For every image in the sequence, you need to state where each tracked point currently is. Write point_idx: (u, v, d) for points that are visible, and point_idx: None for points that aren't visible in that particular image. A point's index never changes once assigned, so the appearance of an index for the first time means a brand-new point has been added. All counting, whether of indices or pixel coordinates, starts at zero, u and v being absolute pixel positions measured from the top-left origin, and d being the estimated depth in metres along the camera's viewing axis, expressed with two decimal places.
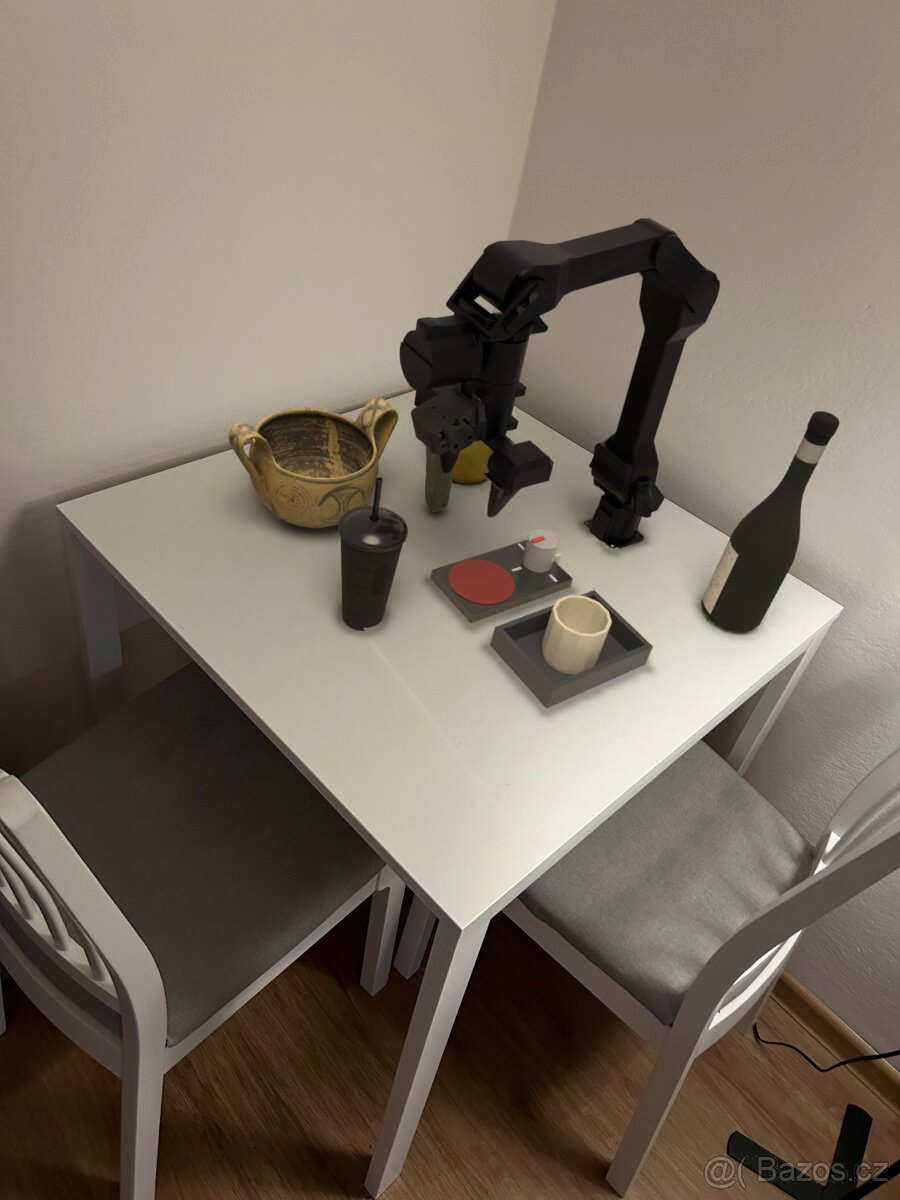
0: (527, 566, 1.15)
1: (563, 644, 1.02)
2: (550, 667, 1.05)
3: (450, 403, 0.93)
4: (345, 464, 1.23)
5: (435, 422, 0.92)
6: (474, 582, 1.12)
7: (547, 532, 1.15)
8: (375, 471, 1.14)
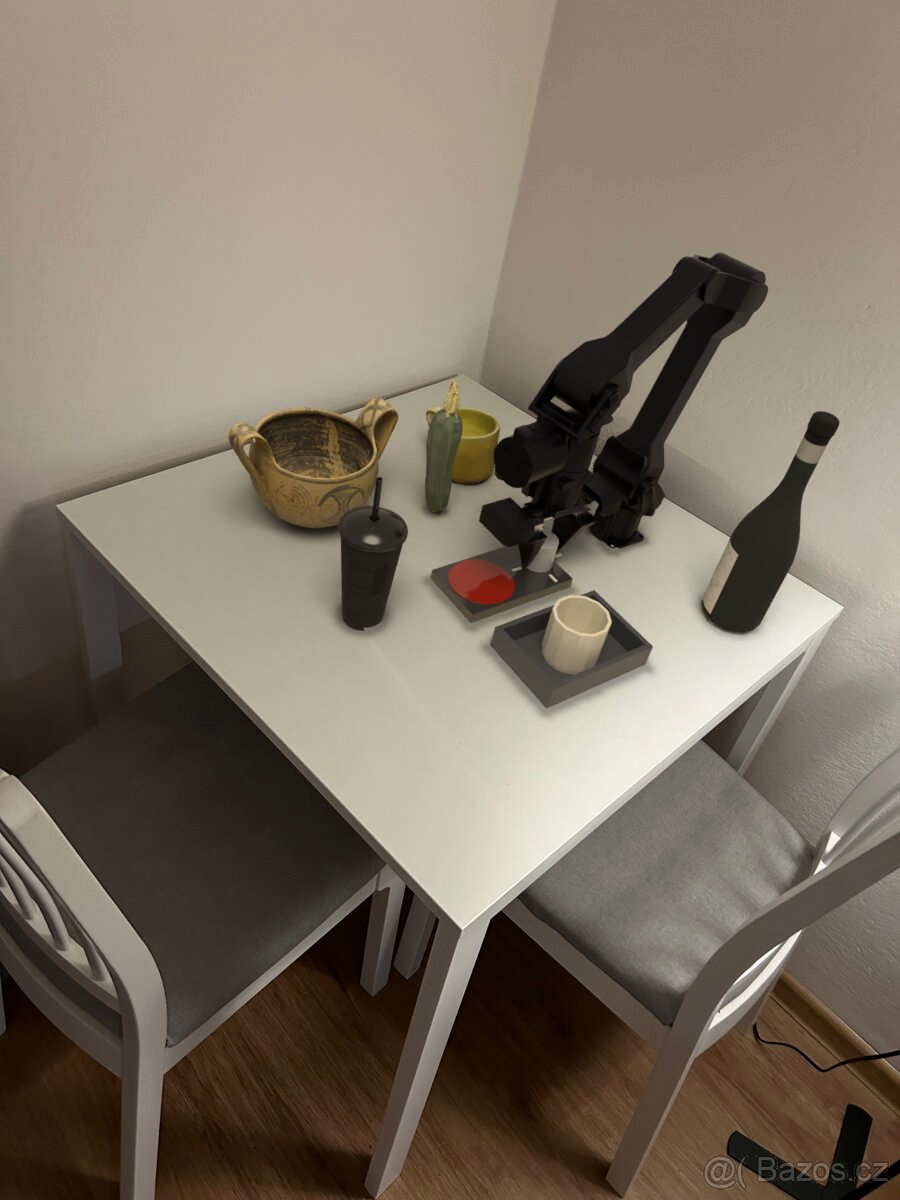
0: (527, 566, 1.15)
1: (563, 644, 1.02)
2: (550, 667, 1.05)
3: None
4: (345, 464, 1.23)
5: None
6: (474, 582, 1.12)
7: (547, 532, 1.15)
8: (375, 471, 1.14)
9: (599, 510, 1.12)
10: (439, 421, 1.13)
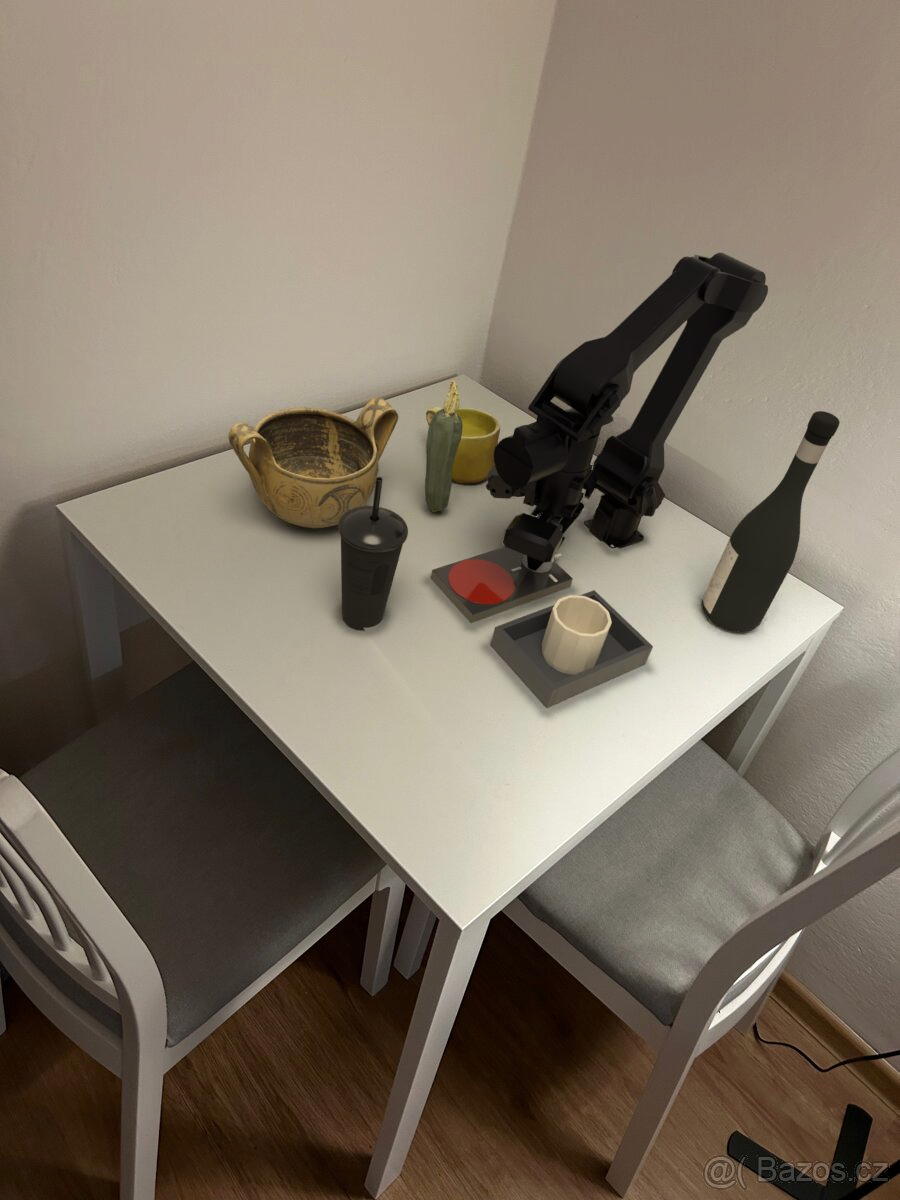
0: None
1: (563, 644, 1.02)
2: (550, 667, 1.05)
3: None
4: (345, 464, 1.23)
5: None
6: (474, 582, 1.12)
7: None
8: (375, 471, 1.14)
9: (586, 494, 1.14)
10: (439, 421, 1.13)
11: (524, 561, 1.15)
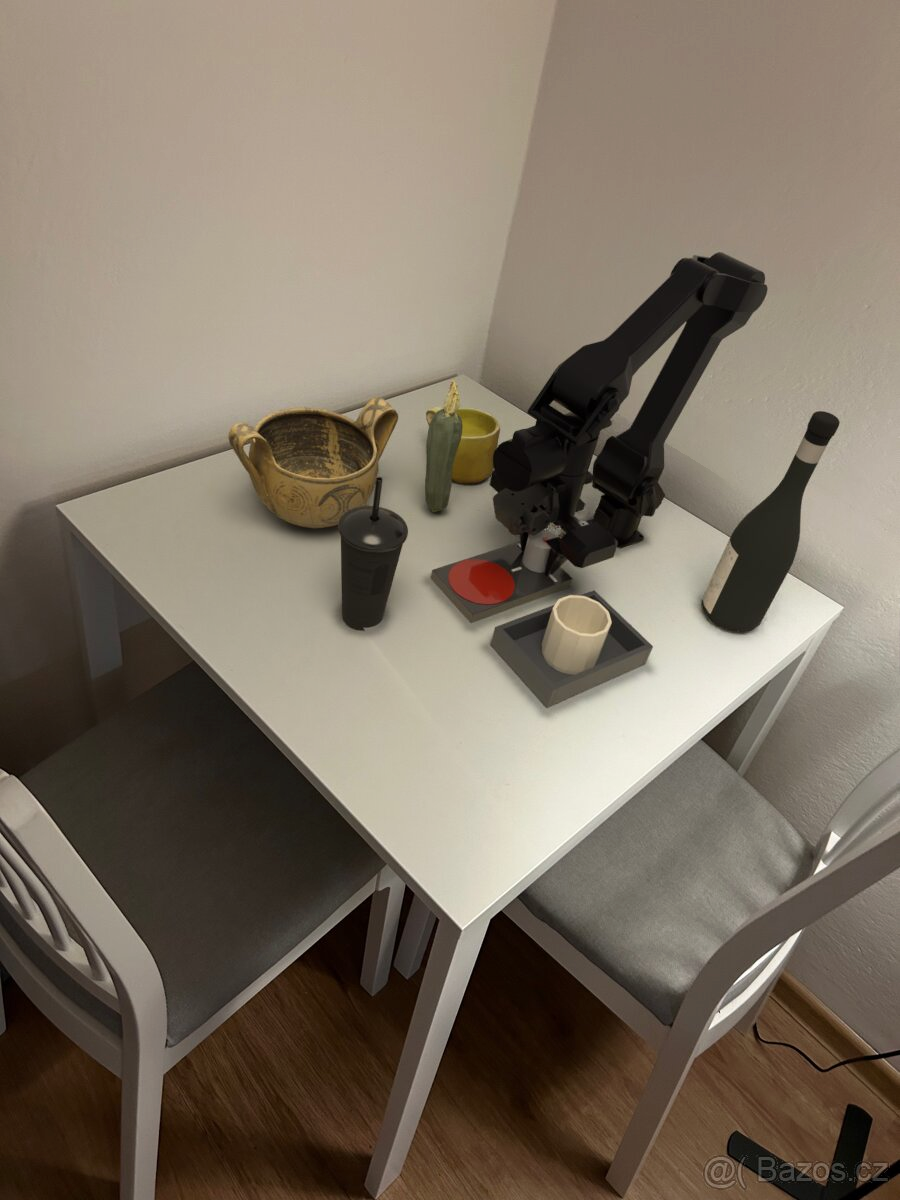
0: None
1: (563, 644, 1.02)
2: (550, 667, 1.05)
3: (527, 490, 1.06)
4: (345, 464, 1.23)
5: (515, 508, 1.05)
6: (474, 582, 1.12)
7: None
8: (375, 471, 1.14)
9: None
10: (439, 421, 1.13)
11: (536, 568, 1.15)
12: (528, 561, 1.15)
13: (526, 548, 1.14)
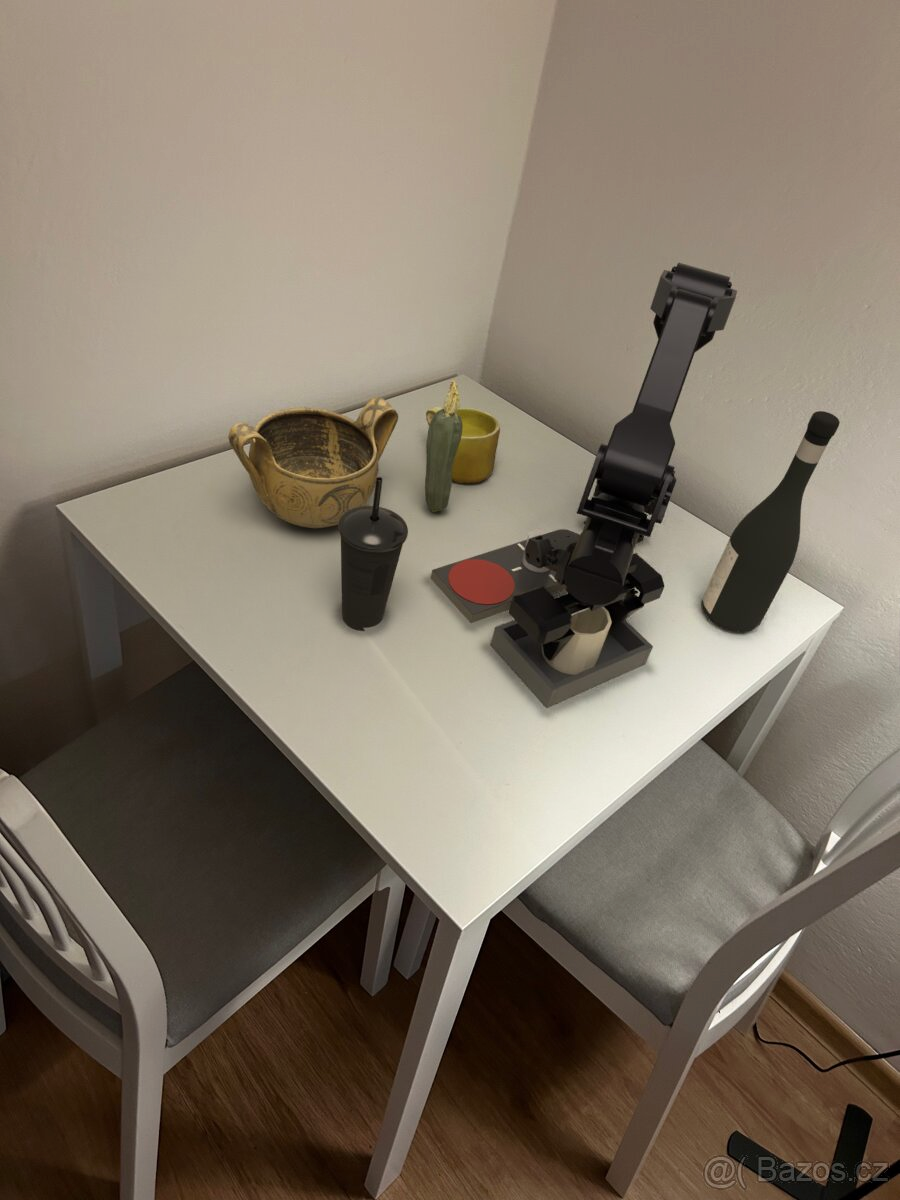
0: (549, 569, 1.15)
1: None
2: (550, 667, 1.05)
3: (573, 542, 1.01)
4: (345, 464, 1.23)
5: (548, 538, 1.02)
6: (474, 582, 1.12)
7: (533, 534, 1.14)
8: (375, 471, 1.14)
9: (639, 597, 1.02)
10: (439, 421, 1.13)
11: (536, 568, 1.15)
12: None
13: None
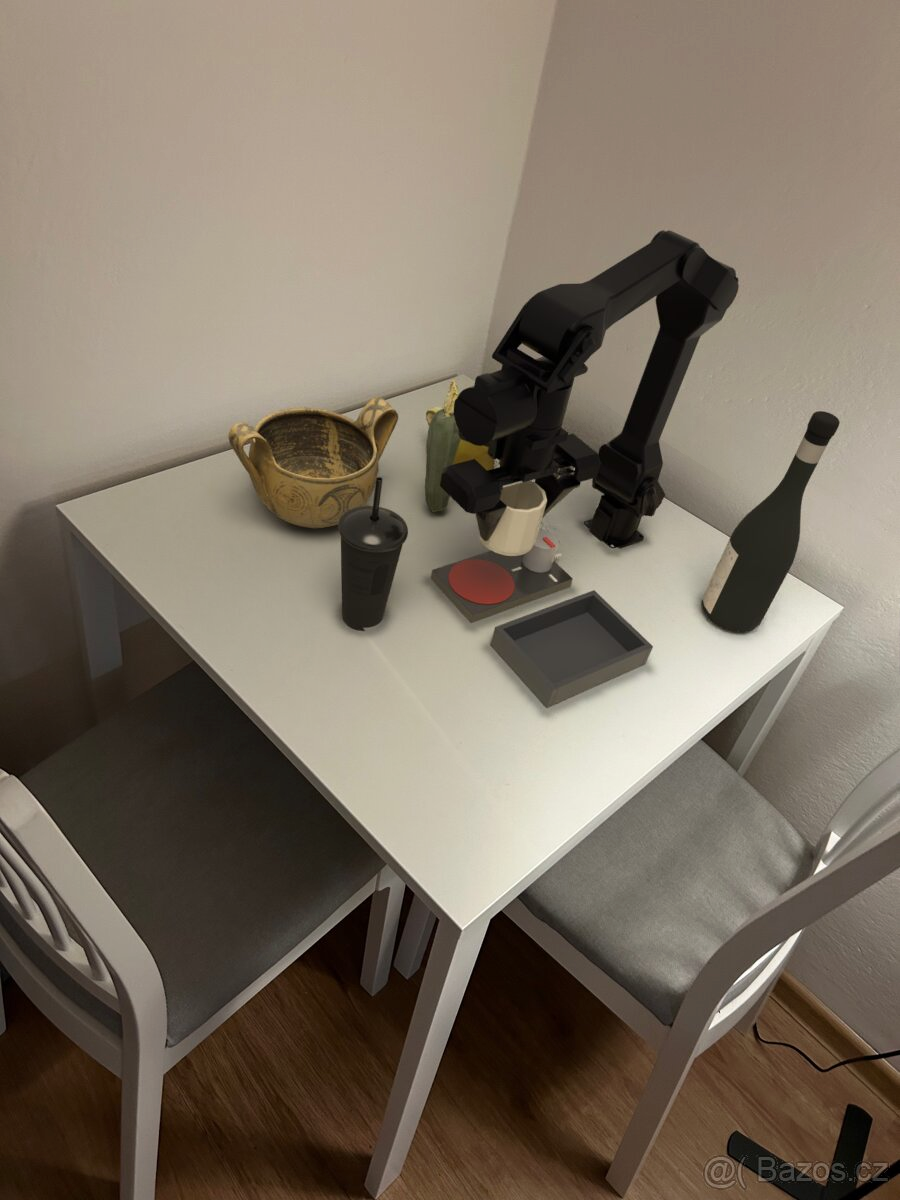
0: (549, 569, 1.15)
1: None
2: (550, 667, 1.05)
3: None
4: (345, 464, 1.23)
5: None
6: (474, 582, 1.12)
7: None
8: (375, 471, 1.14)
9: (575, 474, 1.01)
10: (439, 421, 1.13)
11: (536, 568, 1.15)
12: (528, 561, 1.15)
13: None
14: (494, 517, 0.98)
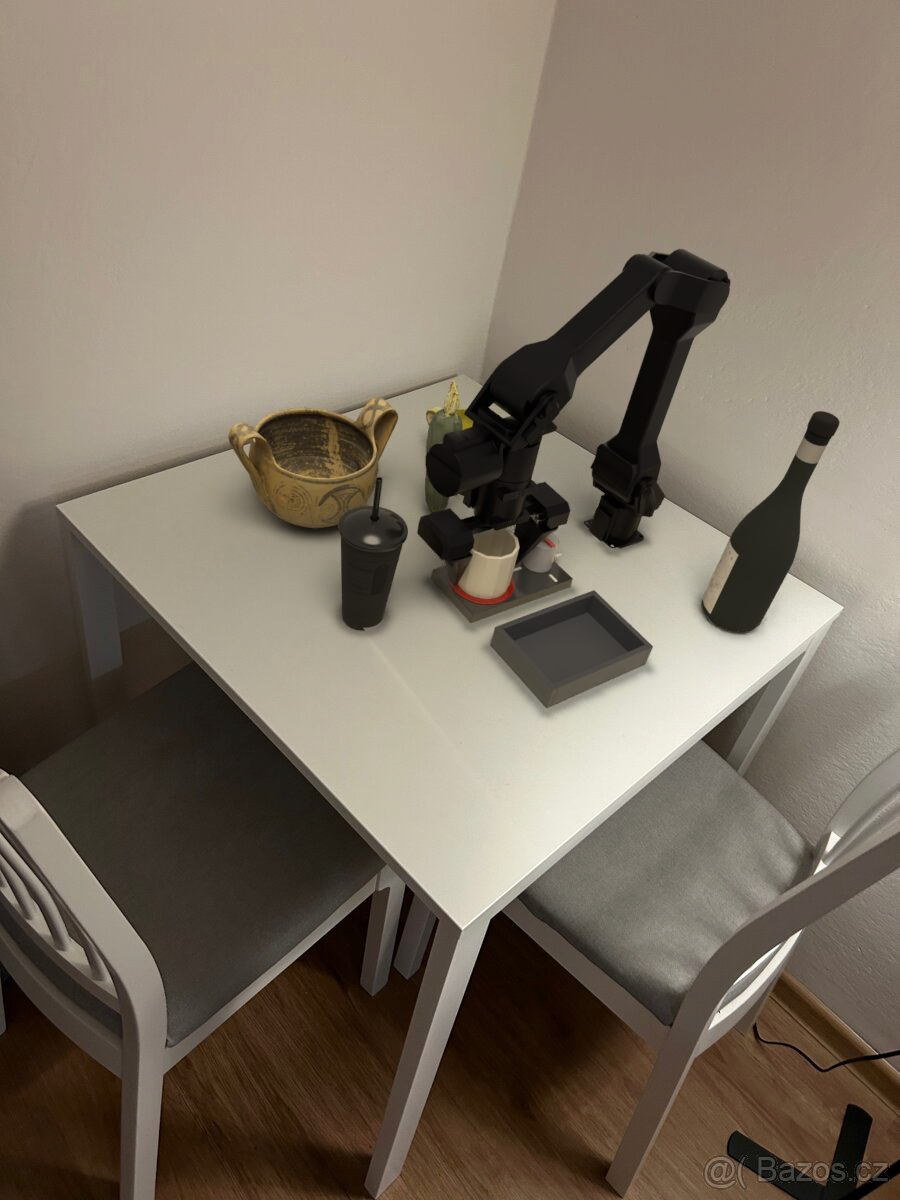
0: (549, 569, 1.15)
1: (472, 568, 1.07)
2: (550, 667, 1.05)
3: None
4: (345, 464, 1.23)
5: None
6: None
7: None
8: (375, 471, 1.14)
9: (545, 521, 1.07)
10: (439, 421, 1.13)
11: (536, 568, 1.15)
12: (528, 561, 1.15)
13: None
14: (461, 565, 1.03)
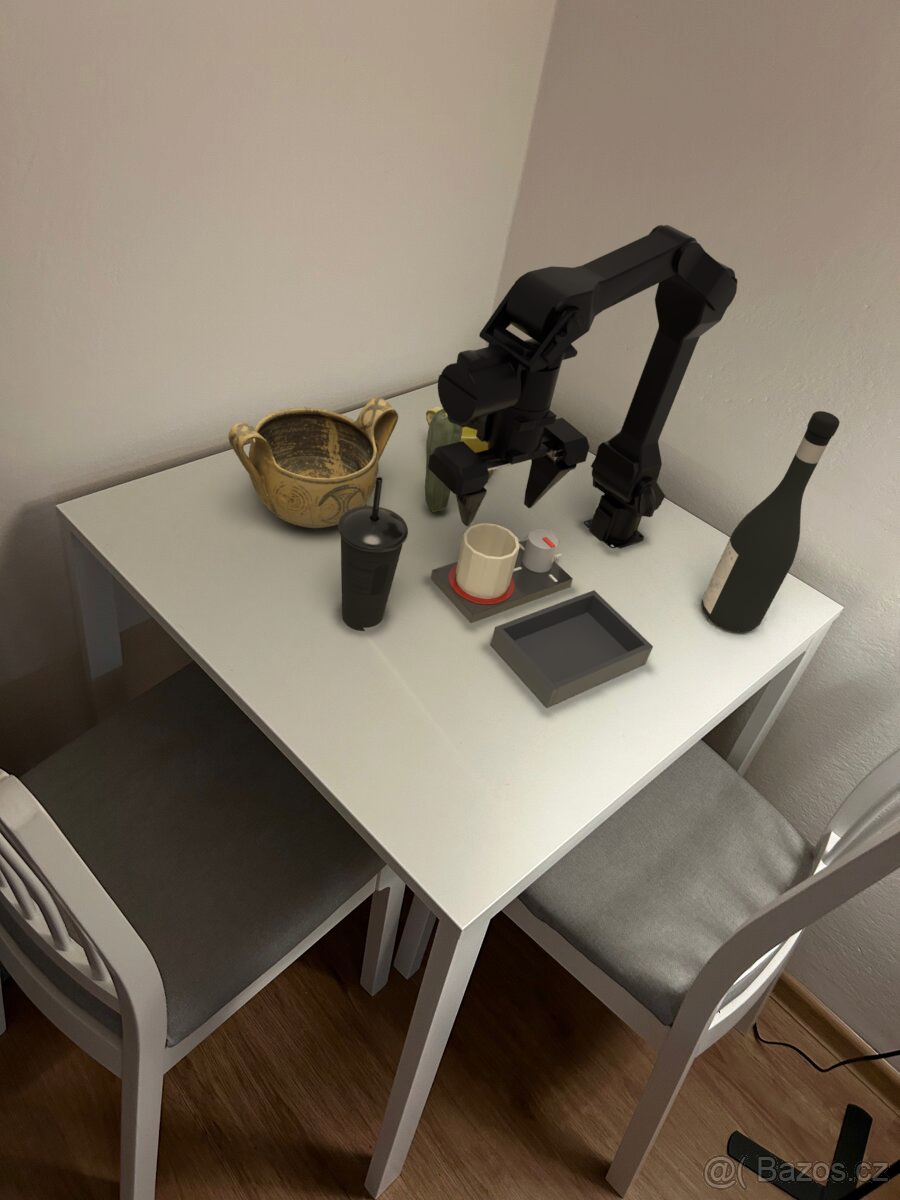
0: (549, 569, 1.15)
1: (472, 568, 1.07)
2: (550, 667, 1.05)
3: None
4: (345, 464, 1.23)
5: None
6: None
7: (533, 534, 1.14)
8: (375, 471, 1.14)
9: (563, 458, 1.01)
10: (439, 421, 1.13)
11: (536, 568, 1.15)
12: (528, 561, 1.15)
13: (526, 548, 1.14)
14: (474, 502, 0.97)
